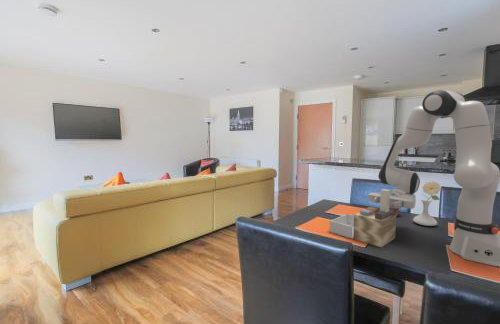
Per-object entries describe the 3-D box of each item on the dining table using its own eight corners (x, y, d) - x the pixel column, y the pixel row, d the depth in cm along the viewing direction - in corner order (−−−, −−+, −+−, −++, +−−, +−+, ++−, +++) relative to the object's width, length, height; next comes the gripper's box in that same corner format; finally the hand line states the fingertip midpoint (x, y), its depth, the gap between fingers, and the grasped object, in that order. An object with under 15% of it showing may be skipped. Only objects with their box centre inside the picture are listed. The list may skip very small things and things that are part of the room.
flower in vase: (407, 222, 147) (410, 179, 145) (422, 220, 151) (425, 178, 148) (429, 229, 135) (433, 183, 133) (445, 227, 139) (448, 182, 136)
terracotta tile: (378, 211, 127) (378, 208, 126) (374, 213, 124) (374, 209, 124) (369, 209, 130) (370, 206, 129) (366, 211, 127) (366, 208, 127)
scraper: (393, 214, 122) (394, 188, 121) (381, 219, 114) (383, 192, 113) (386, 212, 125) (387, 187, 123) (374, 218, 116) (376, 191, 115)
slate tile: (371, 214, 122) (372, 211, 122) (368, 216, 119) (368, 212, 119) (363, 212, 125) (363, 209, 125) (359, 214, 122) (359, 210, 122)
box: (368, 230, 134) (368, 219, 134) (351, 238, 123) (352, 226, 122) (347, 224, 143) (347, 213, 143) (329, 232, 132) (329, 220, 131)
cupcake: (386, 216, 158) (387, 200, 157) (383, 212, 166) (384, 197, 165) (402, 217, 155) (403, 201, 154) (399, 213, 163) (400, 198, 162)
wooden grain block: (395, 238, 124) (396, 214, 123) (381, 247, 113) (382, 221, 112) (368, 230, 133) (369, 208, 132) (353, 238, 123) (354, 214, 122)
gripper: (374, 188, 135) (362, 192, 125) (419, 195, 119) (409, 200, 110) (373, 200, 135) (361, 205, 126) (418, 208, 120) (408, 214, 111)
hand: (384, 202), depth 118 cm, fingers open, 7 cm apart
